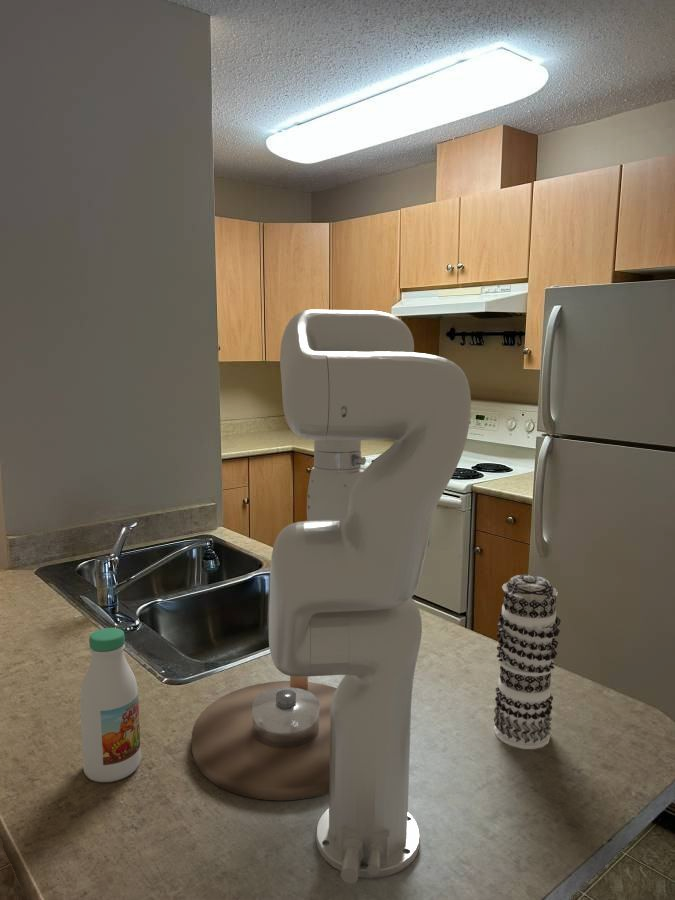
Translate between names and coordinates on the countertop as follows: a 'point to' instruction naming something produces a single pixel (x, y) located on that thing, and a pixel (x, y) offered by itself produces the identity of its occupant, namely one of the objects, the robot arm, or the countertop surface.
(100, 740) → the milk bottle
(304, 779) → the turntable
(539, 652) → the decorative candle
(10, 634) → the countertop surface
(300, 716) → the lid
